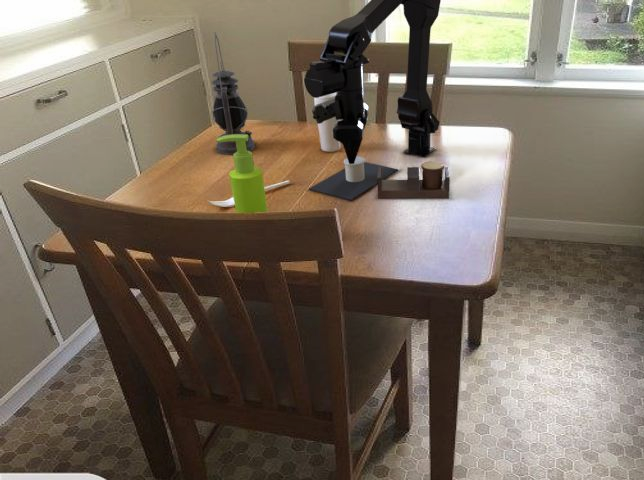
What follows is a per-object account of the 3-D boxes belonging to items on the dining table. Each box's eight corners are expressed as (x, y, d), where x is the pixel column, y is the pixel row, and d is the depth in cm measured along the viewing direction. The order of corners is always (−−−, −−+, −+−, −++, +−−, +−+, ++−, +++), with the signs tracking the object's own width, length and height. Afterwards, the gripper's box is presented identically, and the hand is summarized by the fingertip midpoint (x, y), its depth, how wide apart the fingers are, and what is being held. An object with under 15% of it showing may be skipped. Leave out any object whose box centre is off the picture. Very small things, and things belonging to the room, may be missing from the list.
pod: (427, 178, 122) (428, 159, 119) (447, 183, 119) (448, 163, 117) (416, 186, 118) (417, 166, 116) (436, 191, 116) (437, 170, 113)
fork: (294, 185, 125) (293, 178, 124) (214, 212, 114) (213, 204, 113) (286, 181, 127) (285, 174, 126) (208, 207, 116) (206, 199, 115)
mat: (358, 162, 137) (358, 160, 137) (398, 170, 131) (398, 169, 131) (308, 190, 123) (308, 188, 122) (351, 201, 117) (351, 199, 117)
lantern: (254, 154, 143) (235, 35, 128) (213, 157, 142) (190, 37, 127) (256, 139, 154) (239, 27, 138) (218, 141, 153) (197, 29, 137)
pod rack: (379, 187, 123) (378, 167, 120) (447, 187, 122) (448, 167, 120) (377, 198, 118) (377, 177, 115) (448, 198, 117) (449, 177, 114)
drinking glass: (339, 154, 142) (335, 97, 134) (315, 153, 143) (310, 96, 135) (346, 145, 148) (342, 90, 140) (322, 144, 149) (318, 89, 141)
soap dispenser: (237, 228, 107) (219, 131, 97) (272, 226, 108) (258, 129, 97) (233, 242, 102) (213, 142, 92) (269, 240, 103) (254, 140, 92)
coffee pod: (352, 173, 130) (351, 154, 127) (369, 177, 127) (369, 158, 125) (340, 180, 126) (339, 161, 124) (357, 184, 124) (356, 165, 121)
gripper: (319, 78, 124) (324, 142, 132) (305, 99, 108) (312, 171, 116) (367, 77, 123) (369, 142, 132) (360, 99, 107) (363, 171, 116)
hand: (353, 156), depth 124 cm, fingers open, 9 cm apart
